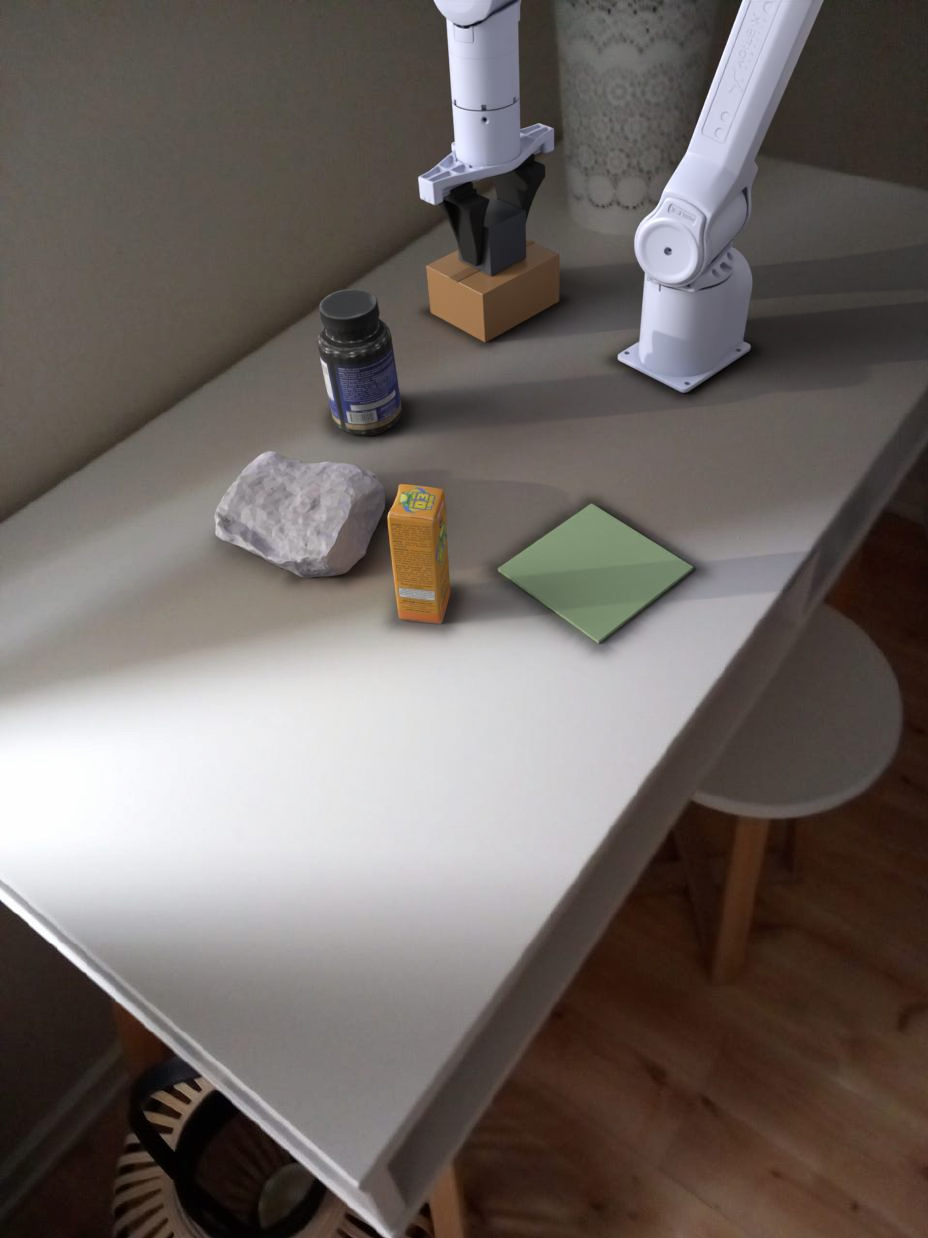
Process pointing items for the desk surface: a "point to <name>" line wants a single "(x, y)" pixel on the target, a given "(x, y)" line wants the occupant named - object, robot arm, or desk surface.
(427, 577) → the supplement box
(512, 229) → the small box
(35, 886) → the desk surface
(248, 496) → the stone block
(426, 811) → the desk surface
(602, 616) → the mat
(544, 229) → the desk surface
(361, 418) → the pill bottle
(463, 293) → the storage box
